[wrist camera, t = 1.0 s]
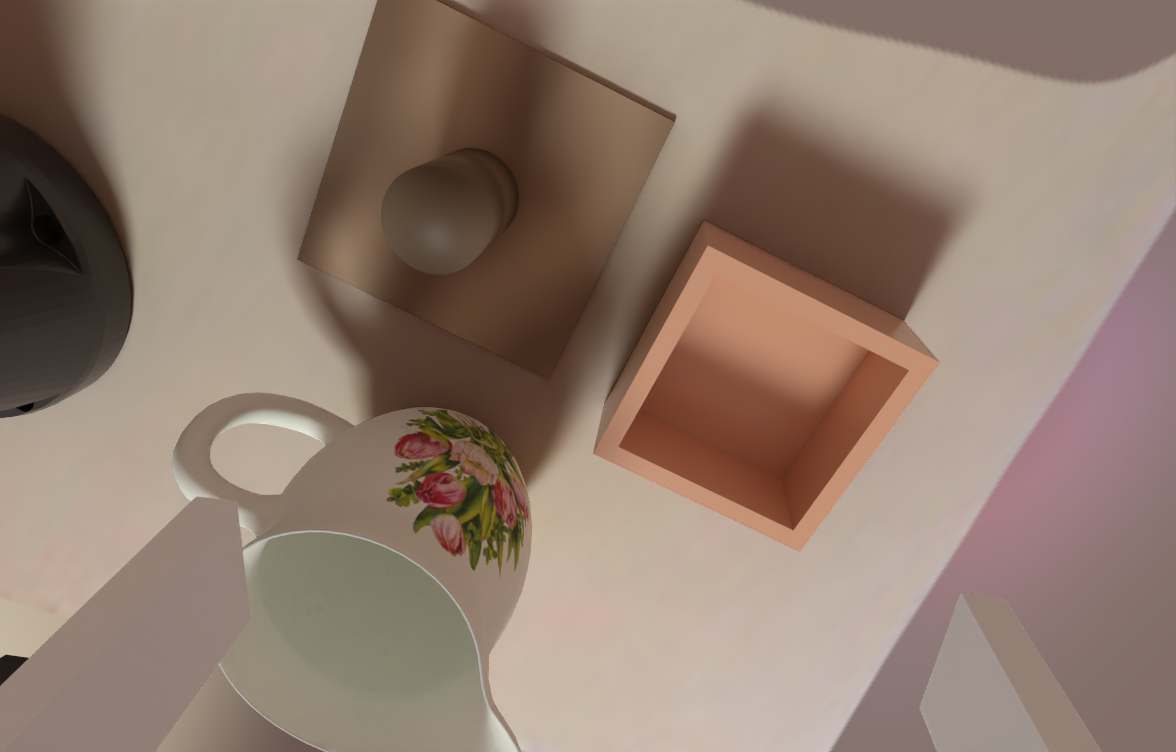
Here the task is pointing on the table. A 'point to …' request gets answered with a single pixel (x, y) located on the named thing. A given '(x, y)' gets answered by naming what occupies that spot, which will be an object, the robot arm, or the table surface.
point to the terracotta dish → (759, 388)
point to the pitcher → (374, 575)
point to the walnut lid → (477, 181)
